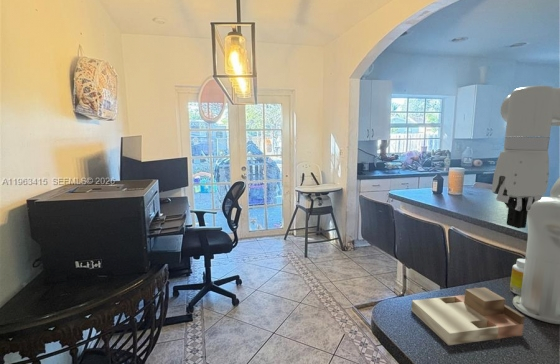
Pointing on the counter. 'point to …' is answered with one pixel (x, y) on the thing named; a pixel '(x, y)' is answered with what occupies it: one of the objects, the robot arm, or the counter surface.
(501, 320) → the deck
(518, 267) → the supplement bottle
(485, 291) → the block
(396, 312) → the counter surface
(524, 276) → the robot arm
